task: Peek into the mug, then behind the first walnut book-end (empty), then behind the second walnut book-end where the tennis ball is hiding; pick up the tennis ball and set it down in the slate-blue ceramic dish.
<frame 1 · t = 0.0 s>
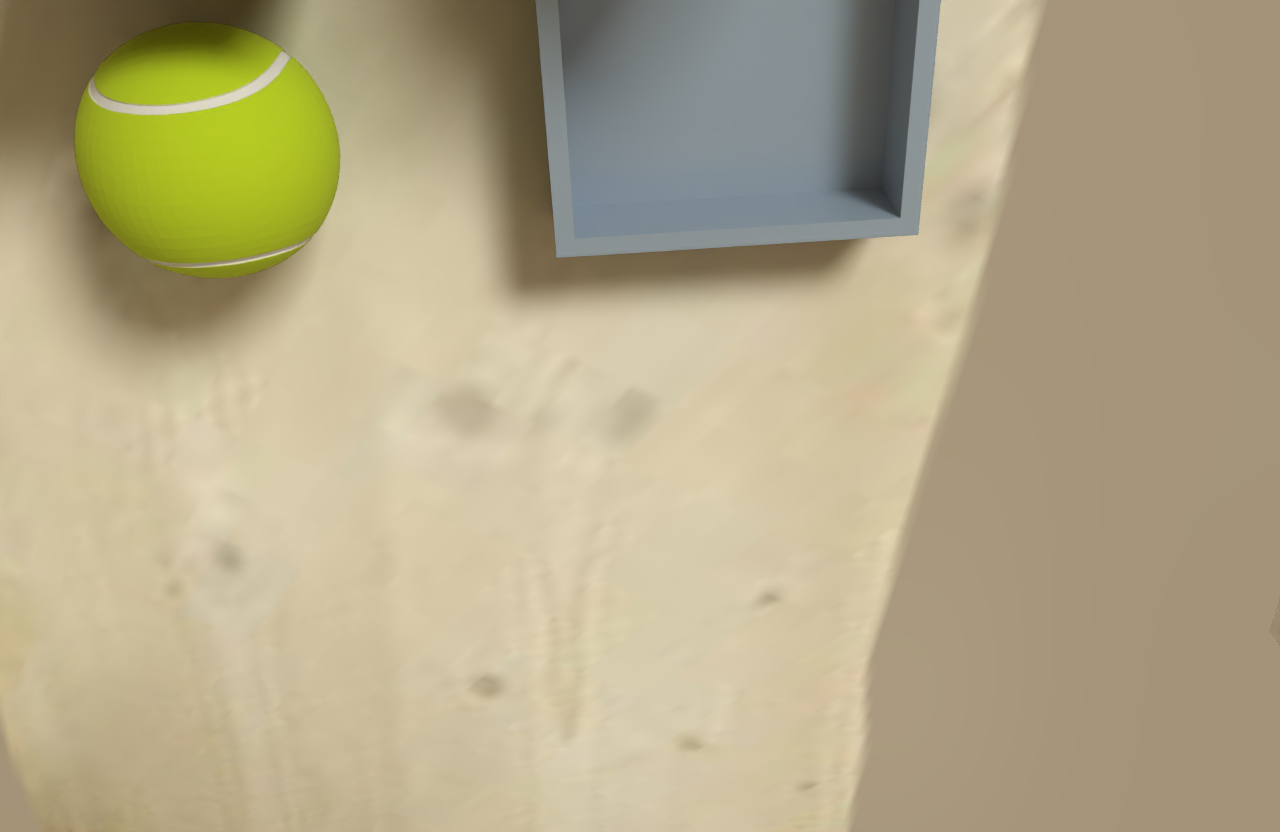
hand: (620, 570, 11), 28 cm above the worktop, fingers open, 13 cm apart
dish: (726, 35, 36), on the worktop
tennis ball: (239, 110, 37), on the worktop
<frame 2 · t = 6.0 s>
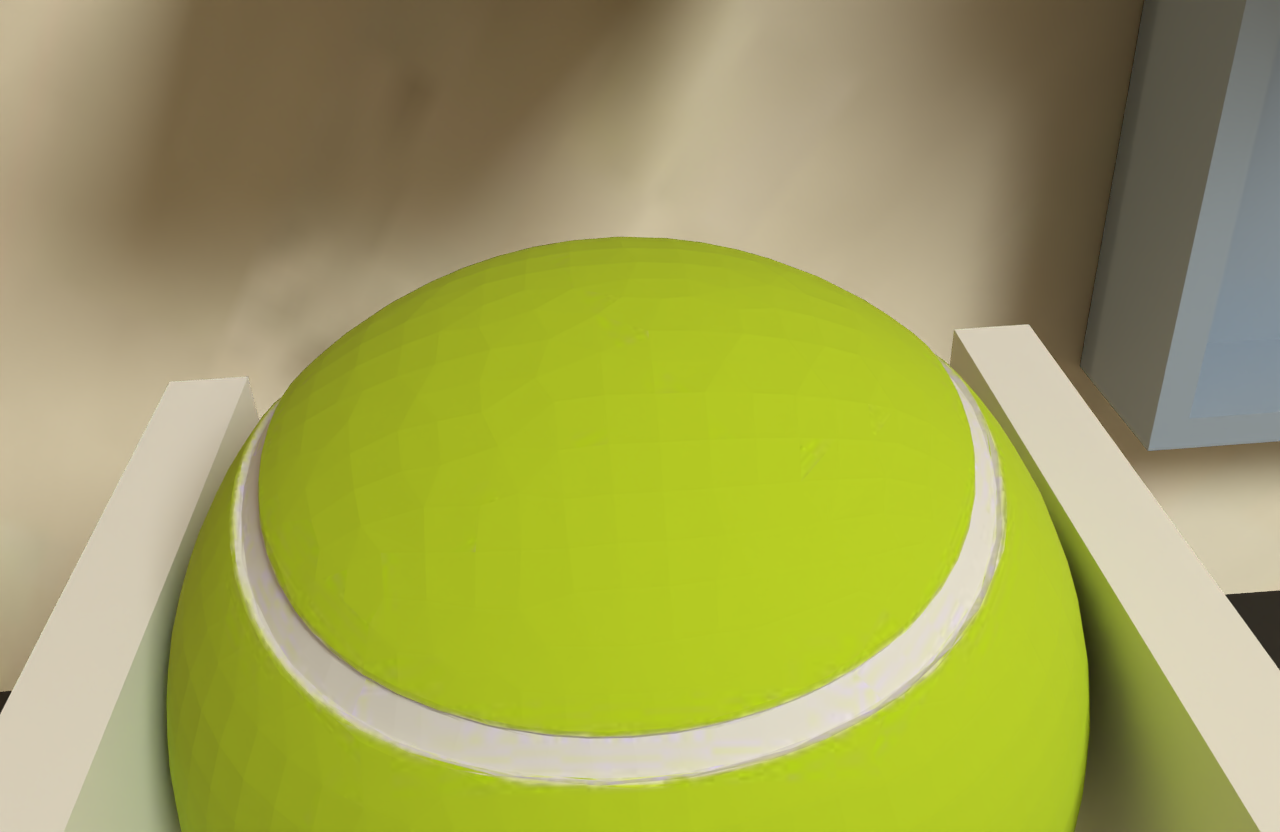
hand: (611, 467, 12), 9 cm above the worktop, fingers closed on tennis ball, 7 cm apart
tennis ball: (606, 423, 13), point 9 cm above the worktop, touching gripper
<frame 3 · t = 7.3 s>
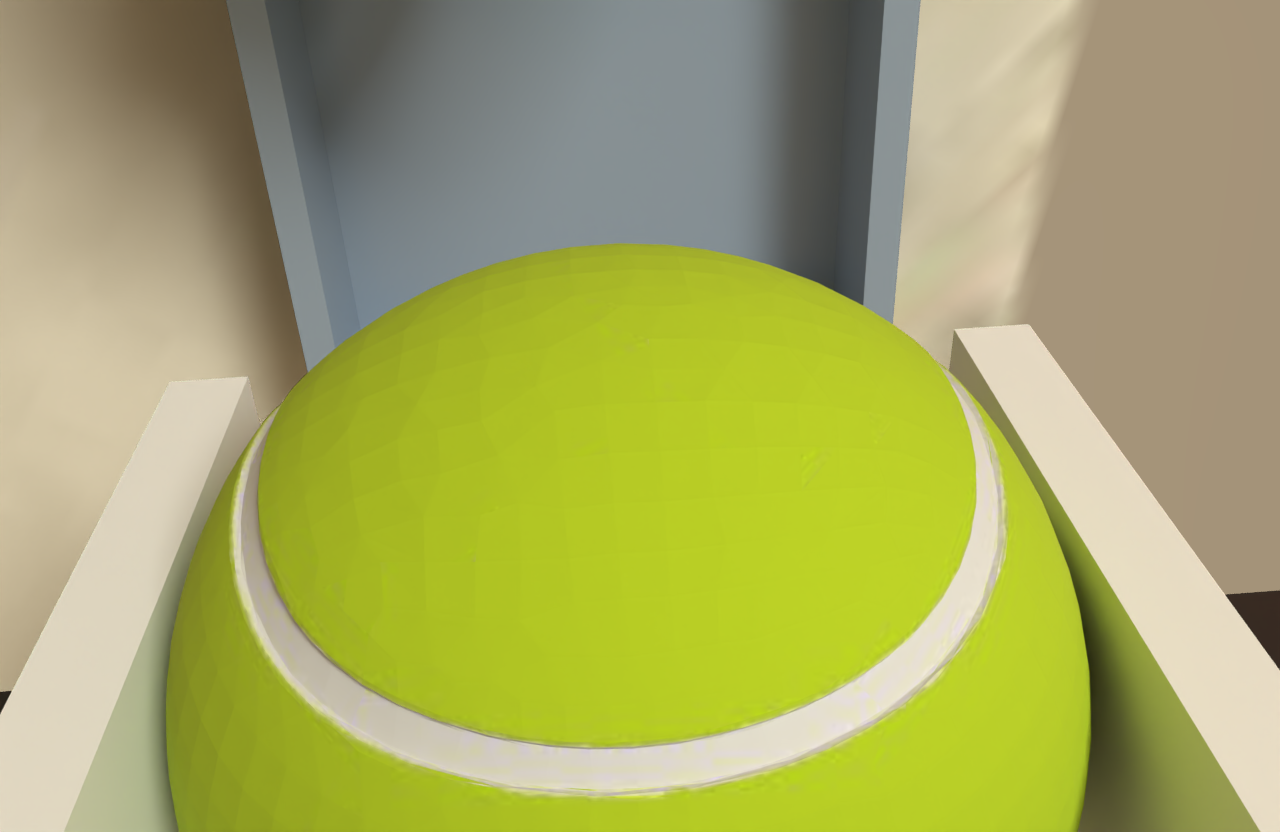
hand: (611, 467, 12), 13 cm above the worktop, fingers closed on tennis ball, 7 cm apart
dish: (583, 87, 23), on the worktop
tennis ball: (607, 428, 13), point 12 cm above the worktop, touching gripper
when the fingers open (4 cm above the worktop, at t = 9.1 s): tennis ball drops 4 cm, resting on dish.
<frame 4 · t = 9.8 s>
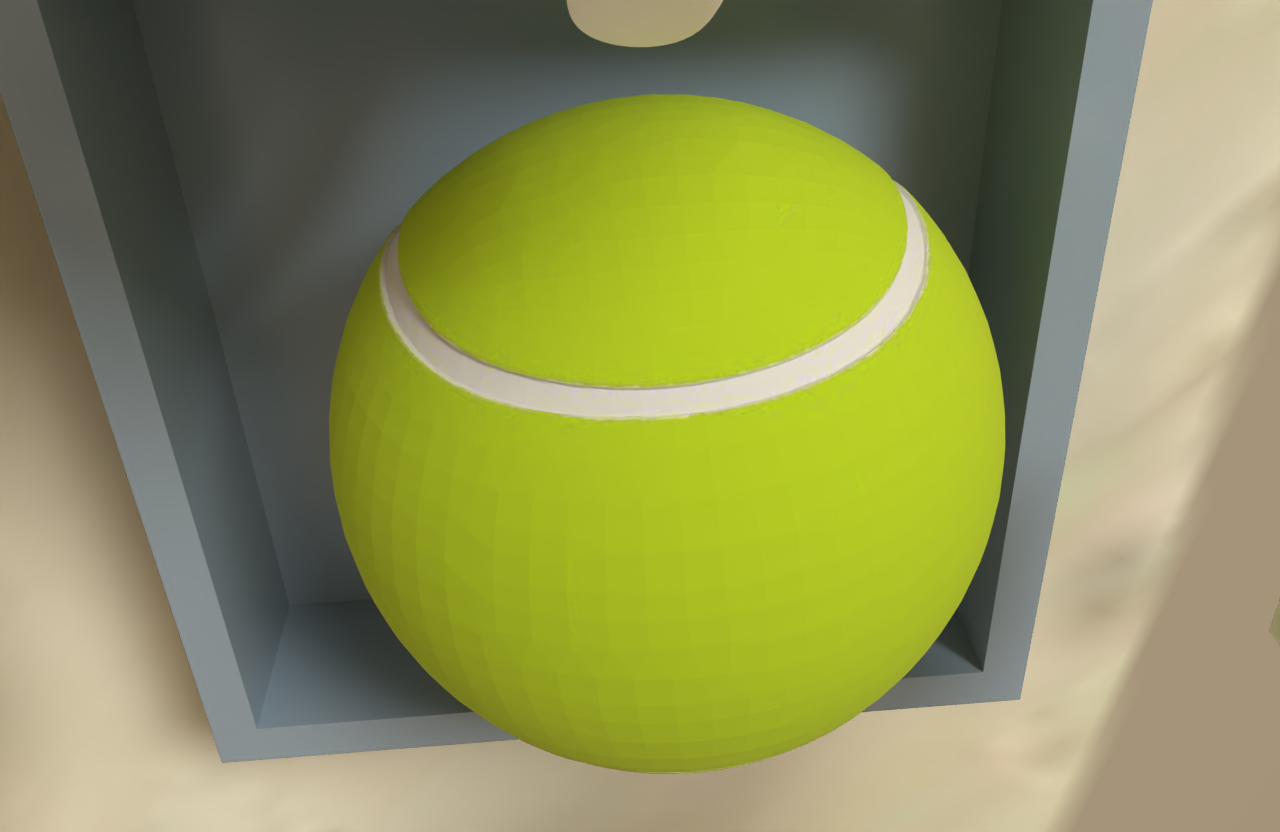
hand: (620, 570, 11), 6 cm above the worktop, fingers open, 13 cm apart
dish: (595, 275, 16), on the worktop
tennis ball: (641, 277, 16), resting on dish
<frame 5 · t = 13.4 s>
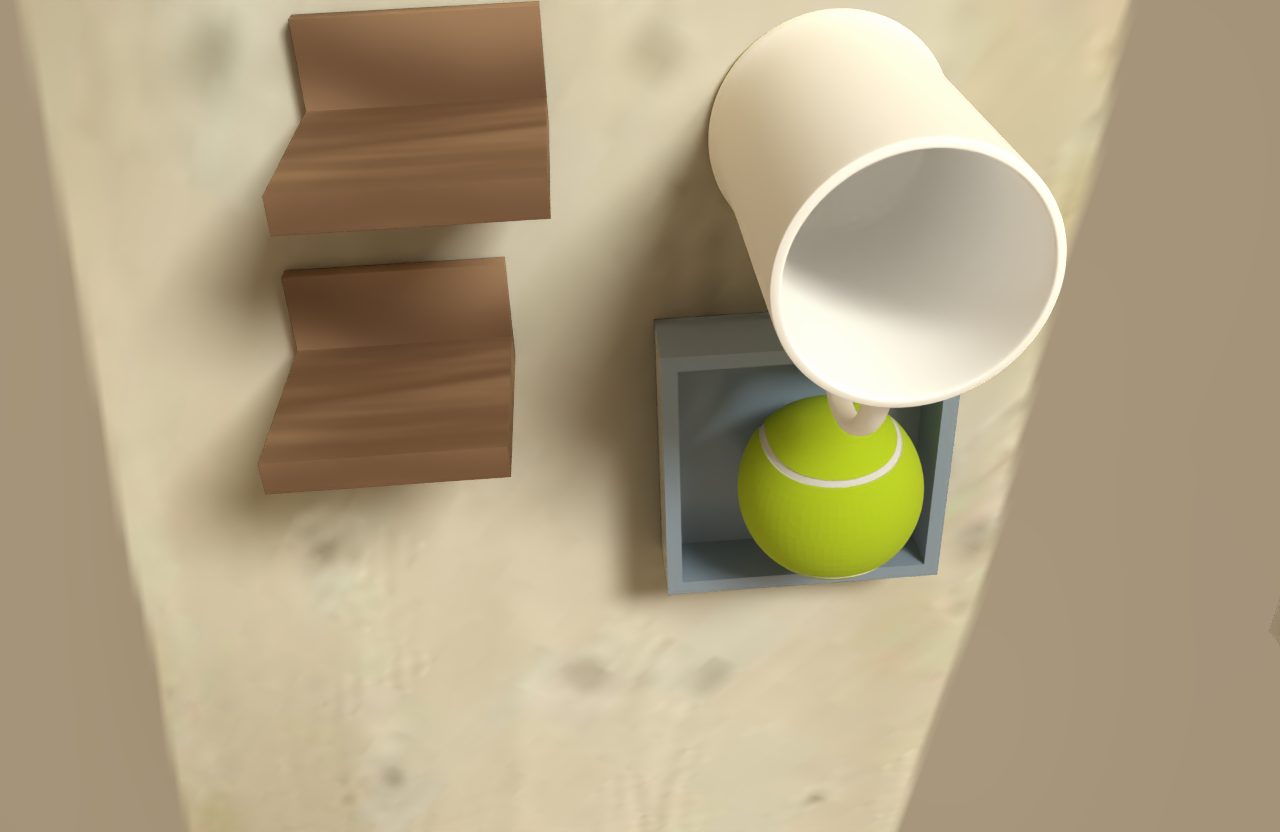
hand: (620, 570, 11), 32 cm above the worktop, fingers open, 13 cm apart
dish: (794, 431, 49), on the worktop
bookend 2: (408, 349, 45), on the worktop
bookend 1: (430, 116, 41), on the worktop
tennis ball: (811, 433, 48), resting on dish
mug: (817, 173, 43), on the worktop
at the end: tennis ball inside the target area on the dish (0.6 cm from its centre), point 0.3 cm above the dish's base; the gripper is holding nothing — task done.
